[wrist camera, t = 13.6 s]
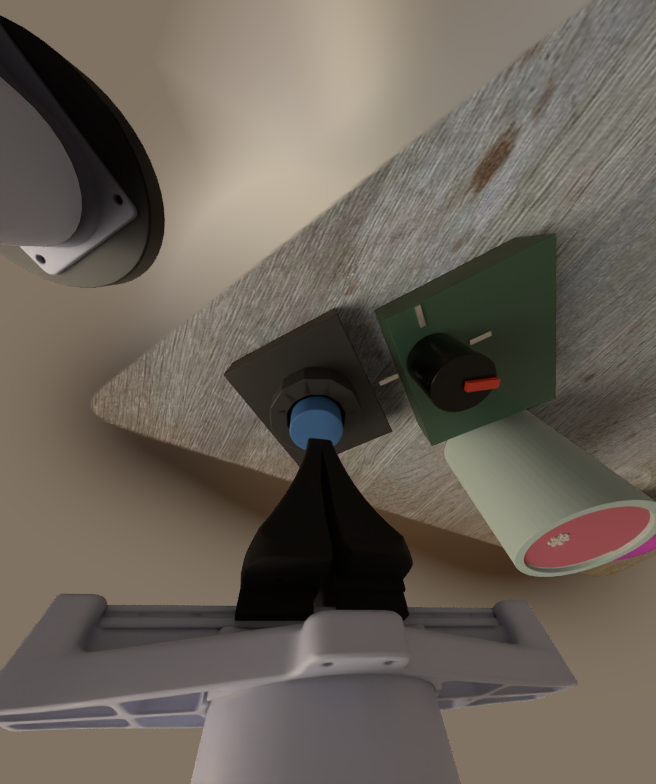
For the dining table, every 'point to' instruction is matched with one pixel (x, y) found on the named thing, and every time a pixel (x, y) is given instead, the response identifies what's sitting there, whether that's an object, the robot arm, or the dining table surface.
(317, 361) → the button block
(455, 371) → the knob
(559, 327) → the dining table surface
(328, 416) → the plunger
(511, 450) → the mug
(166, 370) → the dining table surface
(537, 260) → the panel
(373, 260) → the dining table surface
